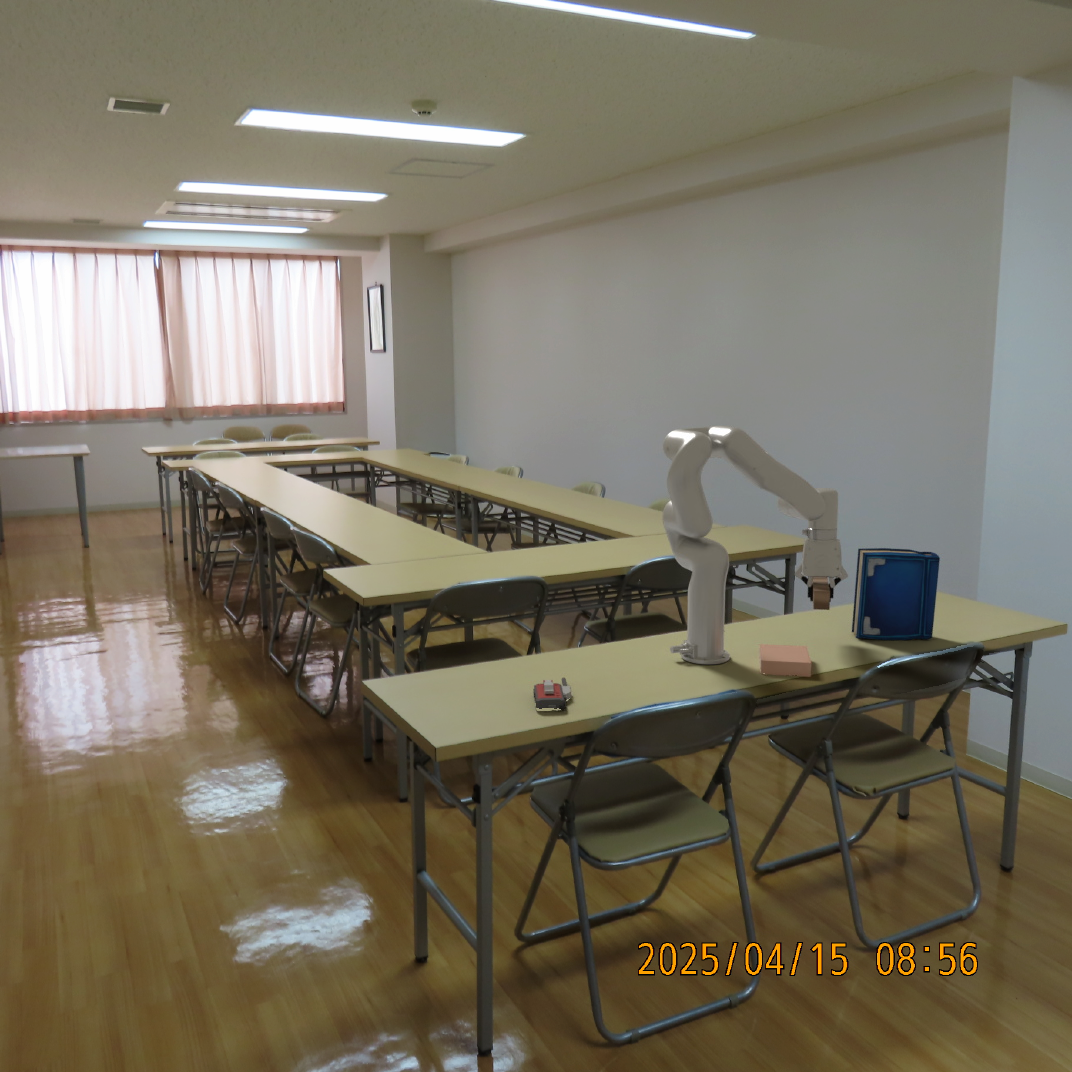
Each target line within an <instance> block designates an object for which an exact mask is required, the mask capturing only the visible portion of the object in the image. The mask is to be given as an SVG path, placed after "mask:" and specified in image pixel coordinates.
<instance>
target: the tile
mask: <svg viewBox="0 0 1072 1072" xmlns="http://www.w3.org/2000/svg"><path fill="white" fill-rule="evenodd" d="M758 646H759V647H758V650H759V651H758V653H759V654H758V655H759V658H758V660H760V661H759V670H761V671H760V674H761V675H767V674H773V676H786V675H789V676H788V677H807V678H810V677H812V660H811V657H810V656H811V655H810V653H809V650H808V649H809V648H808V646H807V645H793V644H792V645H790V644H786V645H785V644H768V643H767V644H763V643H761V644H759V645H758ZM763 673H765V674H763ZM792 675H794V676H792ZM795 675H797V676H795Z"/></svg>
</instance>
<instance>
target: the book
mask: <svg viewBox="0 0 1072 1072" xmlns="http://www.w3.org/2000/svg"><path fill="white" fill-rule="evenodd" d="M940 559H941V557H940V556H939V554H937V553H936V552H932V551H917V550H912V549H909V548H908V549H907V548H905V549H903V548H890V547H889V548H888V547H878V548H877V547H874V548H867V547H866V548H858V550H857V563H856V574H855V586H854V598H853V599H854V600H853V613H852V622H851V623H852V624H851V625H852V626H851V633H853V636H856V637H855V638H856V639H866V640H867V639H869V640H878V641H879V640H880V641H911V640H915V639H916V640H917V639H918V640H931V639H933V635H934V634H933V633H934V632H933V631H934V630H933V629H934V621H935V612H936V604H937V603H936V601H937V592H938V581H939V580H938V579H939V571H940V570H939V569H940V561H941V560H940Z"/></svg>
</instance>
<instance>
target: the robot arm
mask: <svg viewBox="0 0 1072 1072" xmlns="http://www.w3.org/2000/svg"><path fill="white" fill-rule="evenodd" d="M662 450H663V453H664V454H665V456H666V457H667V458H668V459H669V460H670V461H672V462H671V464H670V466H669V469H668V471H667V477H666V485H667V486H666V487H667V491H668V496H669V499H670V500H669V501H667V503H666V504H665V506H664V508H663V511H662V524H663V528H664V531H665V534H666V538H667V540H668V542H669V546H670V548H671V551H672V554H673V557H674V558H675V560H676V562H677V563H678V565H680V566H681V567H682V568H684V569H685V570H688V571H690V572H692V573H691V576H690V581H689V582H688V583H689V584H688V589H687V631H686V632H687V636H686V639H685V640H684V639H683V643H681V644H680V645H671V646H670V647H669V651H670V653H671V654H679V655H680V657H681V658H682V660H684V661H686V662H688V663H692V664H697V665H719V664H724V663H726V662H728V661H729V660H730V658H731V657H730V656H731V654H730V652H728V651H727V650H725V649H724V648H725V617H726V616H725V613H726V608H725V607H726V605H725V604H726V603H725V602H726V583H727V575H728V572H729V568H730V556H729V553H728V551H727V549H726V547H725V546H723V545H722V544H721V543H720V542H718V541H716V540H713V539H710V538H707V537H706V536H708V535H709V534H710V533H711V531H712V529H713V516H712V512H711V510H710V507H709V504H708V501H707V497H706V495H705V492H704V489H703V484H702V473H703V469H704V468H705V466H706V464H707V462H708V461H709V459H712V458H718V459H723V460H724V461H725V462H727V463H728V464H729V465H731V466H732V467H733V468H734V469H735V470H736V471H737V472H738V473H739V474H740V475H742V476H743V477H744V478H745V479H746V481H748V482H749V483H750V484H751V485H753V486H755V487H757V488H758V489H760V490H763V491H764V492H767V493H770V494H772V495H775V496H776V497H778V498H777V501H776V502H777V503H776V504H777V508H778V509H779V511H780V513H782V514H784V515H785V516H788V517H791V518H796V519H799V520H802V521H807V528H806V529H802V533H801V534H802V535H803V536H804V535H805V536H806V537H807V538H805V539H804V543H803V547H802V548H803V549H802V554H801V555H802V558H801V564H799V566H798V568H797V569H795V570H796V571H795V572H794V576H795V577H796V578H798V579H799V580H801V581H802V582H803V583H804V584H805V585H806V586H807V598H808V599H809V600H810V602H813V583H812V582H813V577H827V578H828V584H829V589H830V603H831V599H834V591H835V589H834V588H835V587H836V586H837V585H838V584H840V582H842V581H844V580H845V579H848V577H849V574H848V572H847V571H846V569H845V568H844V566H843V565H842V545H841V541H840V539H838V519H839V518H838V517H839V516H838V515H839V513H838V509H839V493H838V490H836V489H834V488H827V487H819V488H818V487H814V486H812V485H811V484H810V483H809V482H808V481H807V480H805V479H804V478H803V477H802V476H800V475H799V474H797V473H796V472H794V471H793V470H791V469H790V468H788V467H787V466H786V465H784V464H783V463H781V462H779V460H777V459H776V458H774V457H773V456H772V455H770V453H768V452H767V451H766V450H765V449H764V448H763V447H762V446H761V445H760V444H759V443H758V442H757V441H756V440H755V439H753V438H752V437H751V436H750V435H749V434H748V433H747V432H746V431H744V430H743V429H741V428H739V427H736V426H730V425H729V426H727V425H711V426H710V425H709V426H702V427H690V428H678V429H674V430H672V431H670V432H669V433H667V434H666V436H665V438H664V439H663V443H662Z"/></svg>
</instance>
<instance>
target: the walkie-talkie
mask: <svg viewBox="0 0 1072 1072" xmlns="http://www.w3.org/2000/svg"><path fill="white" fill-rule="evenodd" d="M571 689H572V687H571V686H570V685H568V682H567V679H566V677H562V678H561V684H560V683H559V682H558V683H557V682H555V683H554V682H553V679H543V682H542V683H536V684H535V685H533V698H534V704H535V703H536V706H535V709H536V708H539V709H542V708H554V709H557V708H559V709H561V710H563V711H565V710H566V709H567V702H566V700H567V699H569V698H571V699H572V690H571Z"/></svg>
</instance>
